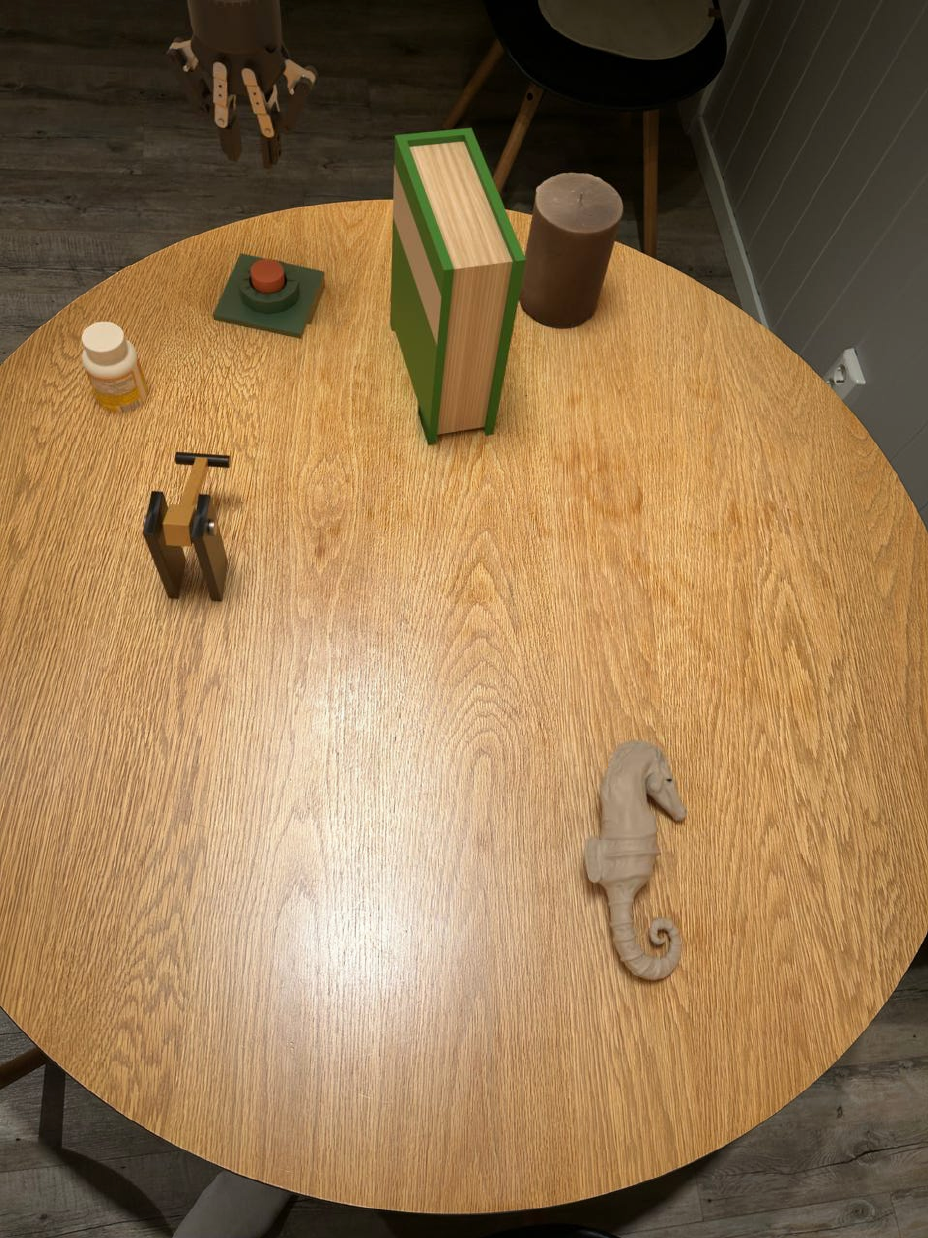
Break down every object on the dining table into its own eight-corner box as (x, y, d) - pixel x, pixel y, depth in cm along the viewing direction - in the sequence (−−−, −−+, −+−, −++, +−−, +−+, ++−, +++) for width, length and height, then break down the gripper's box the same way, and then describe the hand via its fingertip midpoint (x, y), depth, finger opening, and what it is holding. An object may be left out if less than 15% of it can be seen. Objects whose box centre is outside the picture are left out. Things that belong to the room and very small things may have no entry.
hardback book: (493, 434, 102) (526, 259, 81) (428, 444, 101) (443, 270, 80) (451, 315, 110) (471, 127, 89) (390, 324, 108) (394, 135, 87)
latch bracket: (167, 540, 93) (139, 462, 82) (249, 545, 93) (232, 469, 82) (149, 630, 88) (117, 561, 77) (235, 635, 89) (216, 567, 78)
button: (248, 290, 104) (246, 278, 102) (257, 267, 106) (255, 255, 104) (279, 297, 104) (278, 285, 102) (288, 274, 106) (287, 262, 104)
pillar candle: (589, 336, 110) (619, 232, 97) (509, 316, 111) (528, 210, 97) (603, 279, 115) (633, 172, 102) (525, 260, 115) (546, 151, 102)
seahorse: (739, 964, 78) (684, 730, 84) (629, 990, 73) (578, 738, 79) (699, 966, 82) (649, 743, 88) (592, 990, 77) (546, 751, 83)
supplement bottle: (136, 427, 99) (114, 364, 90) (89, 412, 99) (63, 347, 90) (159, 390, 101) (140, 325, 93) (113, 375, 101) (90, 309, 93)
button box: (215, 328, 106) (210, 302, 102) (242, 267, 110) (238, 240, 107) (301, 347, 106) (299, 321, 102) (325, 285, 110) (323, 258, 107)
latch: (178, 464, 89) (175, 443, 88) (231, 468, 90) (229, 447, 88) (149, 544, 81) (145, 522, 79) (208, 548, 81) (205, 526, 79)
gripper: (128, -22, 74) (170, 170, 89) (301, 14, 74) (313, 200, 89) (161, -72, 78) (195, 121, 93) (326, -37, 77) (333, 150, 93)
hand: (253, 159), depth 91 cm, fingers open, 3 cm apart
